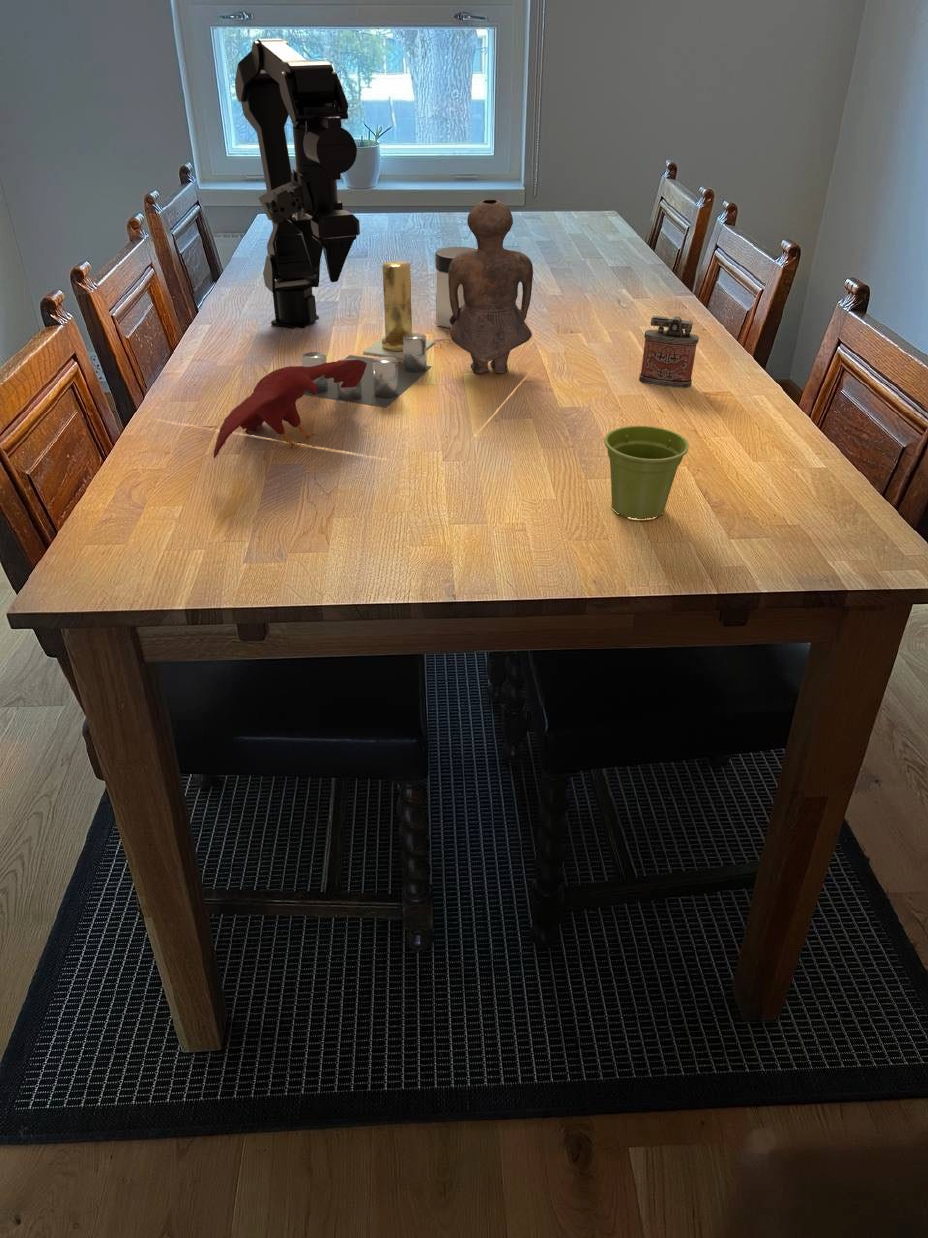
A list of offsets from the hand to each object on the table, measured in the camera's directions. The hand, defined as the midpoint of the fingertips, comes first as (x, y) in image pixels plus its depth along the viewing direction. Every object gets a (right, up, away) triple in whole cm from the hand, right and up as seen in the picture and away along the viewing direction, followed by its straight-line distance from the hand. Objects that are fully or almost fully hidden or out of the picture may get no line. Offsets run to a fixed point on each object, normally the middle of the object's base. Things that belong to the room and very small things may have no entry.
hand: (324, 274), depth 141 cm
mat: (+7, -17, -1) cm, 18 cm away
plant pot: (+42, -41, -33) cm, 67 cm away
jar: (+21, 0, +23) cm, 31 cm away
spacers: (+7, -17, -1) cm, 18 cm away
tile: (+11, -8, +11) cm, 18 cm away
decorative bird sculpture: (-2, -30, -19) cm, 35 cm away
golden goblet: (+11, -8, +11) cm, 17 cm away
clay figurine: (+26, -14, +4) cm, 29 cm away
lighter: (+53, -17, 0) cm, 55 cm away
